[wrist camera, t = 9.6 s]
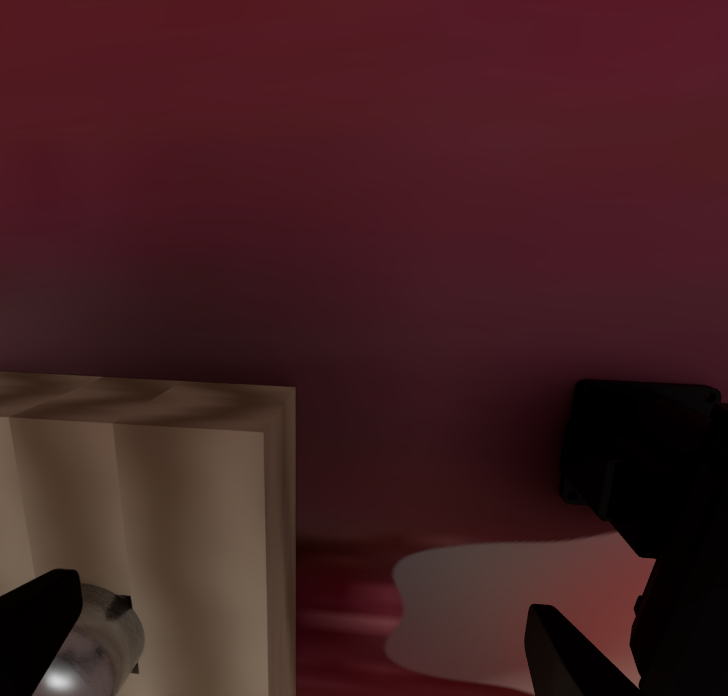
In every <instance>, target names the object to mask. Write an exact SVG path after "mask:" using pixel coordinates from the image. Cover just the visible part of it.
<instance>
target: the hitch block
mask: <svg viewBox="0 0 728 696" xmlns="http://www.w3.org/2000/svg"><path fill="white" fill-rule="evenodd" d="M56 568H64V569H74V570H77V572H78V573H79V575H80V582H81V583H84V584H91V585H95V586H99V587H102V588H104V589H107V590H109V591H111V592H113V593H114V594H116V595H128V596H131V600H132V609H133V610H134V611H135V613H136V614H137V616H138V617H139V619H140V621H141V623H142V626H143V629H144V635H145V644H144V649H143V653H142V655H141V657H140V659H139V660H138V662H137V663H136V665H135V667H134V668H133V670H132V672H131V673H130V675H129V676H128V678H127V680H126V681H125V683H124V684H123V686H122V688H121V689H120V691H119V693H118V694H117V696H296V387H284V386H265V385H247V384H228V383H209V382H190V381H172V380H153V379H134V378H116V377H97V376H78V375H59V374H41V373H22V372H3V371H0V596H2V595H4V594H6V593H8V592H10V591H11V590H13V589H15V588H17V587H19V586H21V585H23V584H25V583H27V582H29V581H31V580H33V579H35V578H37V577H39V576H41V575H43V574H45V573H47V572H49V571H51V570H53V569H56Z"/></svg>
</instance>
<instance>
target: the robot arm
mask: <svg viewBox="0 0 728 696" xmlns="http://www.w3.org/2000/svg"><path fill="white" fill-rule="evenodd" d="M587 387H591V391H590V392H589V393H588V394H584V391H585V389H586V388H587ZM708 393H709V397H708V398H707V399H706V400H704V398H705V396H706V395H707V394H708ZM559 469H560V470H561V472H562V476H561V482H560V489H559V494H560V496H561V497H562V499H563V500H564V501H565V502H566V503H568V504H573V505H588V506H590V508H591V509H592V510H593V511H594V513H595V514H596V515H597V516H598V517H599V518H600V519H601V520H602V521H609V522H610V523H611V524H612V525H613V526H614V528H615V529H616V530H617V531H618V532H619V534H620V535H621V536H622V537H623V538H624V539H625V541H626V542H627V543H628V544H629V546H630V547H631V548H632V549H633V550H634V552H635V553H636V554H637V555H638V556H639V557H642V558H654V559H656V562H655V564H654V567H653V570H652V572H651V574H650V577H649V580H648V582H647V585H646V587H645V590H644V592H643V595H642V596H639V597H638V598H637V601H636V604H635V606H634V611H635V615H636V617H635V620H634V622H633V625H632V629H631V637H630V648H631V651H632V654H633V657H634V660H635V663H636V667H637V669H638V672H639V674H640V676H641V679H640V682H639V689H640V690H639V689H638V688H637V687H636V686H635V685H634V684H633V683H632V682H631V681H630V680H629V679H628V678H627V677H626V676H625V675H624V674H623V673H622V672H621V671H620V670H619V669H618V668H617V667H616V666H615V665H614V664H613V663H612V662H610V660H609V659H607V657H605V656H604V655H603V654H602V653H601V652H600V651H599V650H598V649H597V648H596V647H595V646H594V645H593V644H592V643H591V642H590V641H589V640H588V639H587V638H586V637H585V636H584V635H583V634H582V633H581V632H580V631H579V630H578V629H577V628H576V627H575V626H574V625H573V624H572V623H571V622H570V621H569V620H567V619H566V618H565V617H564V616H563V615H562V614H561V613H560V612H559V611H558V610H557V609H556V608H555V607H553V606H551V605H543V604H532V605H531V606H530V607H529V611H528V617H527V624H526V631H525V639H524V644H525V652H526V657H527V661H528V666H529V670H530V674H531V679H532V683H533V687H534V692H535V696H728V404H727V403H721V393H720V391H719V390H717V389H716V388H713V387H711V386H707V385H690V384H670V383H651V382H631V381H611V380H592V379H586V380H582V381H580V382H579V383H578V384H577V385H576V388H575V394H574V400H573V406H572V413H571V419H570V420H569V421H568V422H567V423H566V426H565V432H564V439H563V445H562V451H561V458H560V464H559ZM570 491H574V493H573V494H572V495H569V496H568V493H569V492H570ZM82 608H83V596H82V589H81V582H80V575H79V573H78V572H77V570H74V569H64V568H56V569H53V570H51V571H49V572H47V573H45V574H43V575H41V576H39V577H37V578H35V579H33V580H31V581H29V582H27V583H25V584H23V585H21V586H19V587H17V588H15V589H13V590H11V591H10V592H8V593H6V594H4V595H2V596H0V696H32V695H33V693H34V692H35V690H36V689H37V687H38V685H39V684H40V682H41V680H42V679H43V677H44V675H45V674H46V672H47V670H48V669H49V667H50V665H51V663H52V662H53V660H54V658H55V657H56V655H57V653H58V652H59V650H60V648H61V647H62V645H63V643H64V642H65V640H66V638H67V637H68V635H69V633H70V632H71V630H72V628H73V627H74V625H75V623H76V622H77V620H78V618H79V616H80V614H81V612H82Z"/></svg>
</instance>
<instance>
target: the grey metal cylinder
mask: <svg viewBox="0 0 728 696" xmlns="http://www.w3.org/2000/svg"><path fill="white" fill-rule="evenodd" d="M81 589H82V596H83V608H82V612H81V614H80V616H79V618H78V620H77V622H76V623H75V625H74V627H73V628H72V630H71V632H70V633H69V635H68V637H67V638H66V640H65V642H64V643H63V645H62V647H61V648H60V650H59V652H58V653H57V655H56V657H55V658H54V660H53V662H52V663H51V665H50V667H49V669H48V670H47V672H46V674H45V675H44V677H43V679H42V680H41V682H40V684H39V685H38V687H37V689H36V690H35V692H34V693H33V695H32V696H117V694H118V693H119V691H120V689H121V688H122V686H123V684H124V683H125V681H126V680H127V678H128V676H129V675H130V673H131V672H132V670H133V668H134V667H135V665H136V663H137V662H138V660H139V659H140V657H141V655H142V653H143V649H144V644H145V635H144V629H143V626H142V623H141V621H140V619H139V617H138V616H137V614H136V613H135V611H134V610H133V609H132V600H131V596H128V595H116V594H114V593H113V592H111V591H109V590H107V589H104V588H102V587H99V586H95V585H91V584H84V583H81Z"/></svg>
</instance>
